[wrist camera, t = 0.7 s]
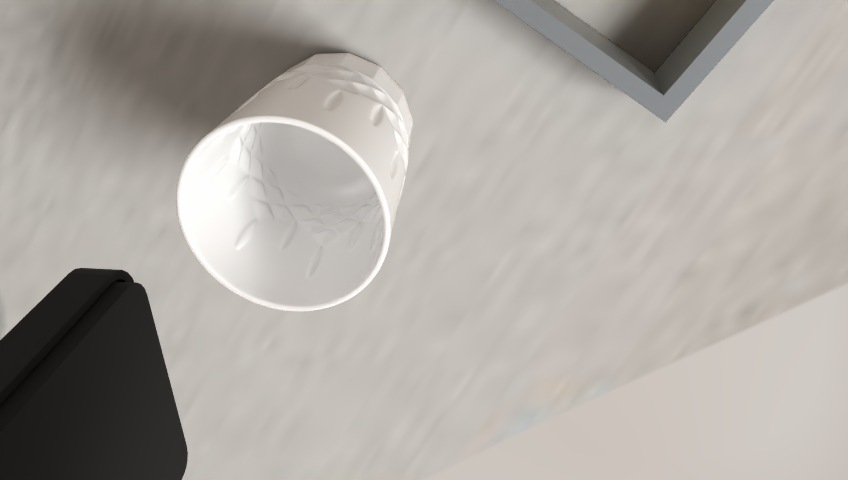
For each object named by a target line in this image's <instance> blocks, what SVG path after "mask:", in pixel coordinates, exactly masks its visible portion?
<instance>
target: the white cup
mask: <svg viewBox="0 0 848 480" xmlns="http://www.w3.org/2000/svg"><path fill="white" fill-rule="evenodd" d="M412 126H413V120H412V117H411V114H410V111H409V108H408V105H407V101H406V98H405V95H404V92H403V91H402V89H401V88H400V87H399V86H398V85H397V84H396V83H395V82H394V81H393V80H392V78H391V77H390V76H389V75H388V74H387V73H386V72H385V71H384V70H383V69H382V68H381V67H380V66H378V65H376V64H374V63H371V62H369V61H367V60H364V59H362V58H360V57H358V56H355V55H353V54H351V53H328V54H315V55H313V56H311V57H309V58H308V59H306V60H304V61H302V62H300V63H299V64H297V65H295V66H293V67H291V68H290V69H288V70H287V71H286V72H285V73H283V74H281V75H280V76H278V77H277V78H275V79H274V80H273V81H271V82H270V83H269V84H267V85H266V86H265V87H264V88H262V89H261V90H260V91H258V92H257V93H256V94H255V95H253V96H252V97H250V98H249V99H248V100H247V101H246V102H244V103H243V104H242V105H241V106H240V107H239V108H238V109H236V110H235V111H234V112H233V113H232V114H231V115H229V116H228V117H227V118H226V119H225V120H224V121H222V122H221V123H220V124H219V125H218V126H217V127H215V128H214V129H213V130H212V131H211V132H209V133H208V134H207V135H206V136H205V137H203V138H202V139H201V140H200V141H199V142H198V143H197V144H196V146H195V147H194V148H193V149H192V151H191V152H190V153H189V155H188V157H187V158H186V160H185V162H184V164H183V166H182V169H181V172H180V175H179V178H178V183H177V190H176V208H177V215H178V220H179V223H180V227H181V230H182V233H183V235H184V237H185V240H186V242H187V244H188V246H189V247H190V249H191V251H192V252H193V254H194V255H195V257H196V258H197V260H198V261H199V262H200V263H201V265H202V266H203V267H204V268H205V269H206V270H207V271H208V272H209V273H210V274H211V275H212V276H213V277H214V278H215V279H216V280H217V281H218V282H220V283H221V284H222V285H224V286H225V287H226V288H228V289H229V290H231V291H232V292H234V293H236V294H237V295H239V296H241V297H243V298H245V299H247V300H249V301H252V302H254V303H257V304H260V305H263V306H266V307H270V308H274V309H279V310H286V311H312V310H319V309H324V308H328V307H331V306H334V305H337V304H339V303H342V302H344V301H346V300H348V299H350V298H351V297H353V296H354V295H356V294H357V293H359V292H360V291H361V290H362V289H363V288H365V287H366V286H367V285H368V284H369V283H370V281H371V280H372V279H373V278H374V277H375V275H376V274H377V272H378V271H379V269H380V267H381V265H382V263H383V261H384V259H385V256H386V253H387V250H388V246H389V242H390V238H391V233H392V229H393V225H394V221H395V217H396V213H397V210H398V206H399V202H400V198H401V194H402V190H403V186H404V181H405V177H406V169H407V165H408V151H409V145H410V139H411V133H412Z"/></svg>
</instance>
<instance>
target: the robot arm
mask: <svg viewBox="0 0 848 480" xmlns="http://www.w3.org/2000/svg"><path fill="white" fill-rule="evenodd" d="M187 455H188V452H187V445H186V441H185V438H184V434H183V430H182V426H181V422H180V419H179V415H178V411H177V407H176V403H175V400H174V396H173V392H172V388H171V384H170V380H169V377H168V373H167V369H166V365H165V361H164V358H163V354H162V350H161V346H160V342H159V338H158V335H157V331H156V327H155V323H154V319H153V316H152V312H151V308H150V304H149V300H148V297H147V293H146V291H145V288H144V287H143V286H142V285H141V284H139V283H134V281H133V278H132V277H131V276H130V275H129V273H128V272H125V271H123V270H111V269H91V268H79V269H75V270H73V271H72V272H70V273H69V274H68V275H67V276H66V277H65V278H64V279H63V280H62V281H61V282H60V283H59V284H58V285H57V286H56V287H55V288H54V289H53V290H52V291H51V292H49V293H48V294H47V295H46V296H45V297H44V298H43V299H42V300H41V301H40V302H39V303H38V304H37V305H36V306H35V307H34V308H33V309H32V310H31V311H30V312H29V313H28V314H27V315H26V316H25V317H24V318H23V319H22V320H21V321H20V322H19V323H18V324H17V325H16V326H15V327H14V328H13V329H12V330H11V331H10V332H9V333H8V334H7V335H5V336H4V337H3V338H2V339H1V340H0V480H182V477H183V475H184V473H185V469H186V465H187Z"/></svg>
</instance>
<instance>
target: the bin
mask: <svg viewBox="0 0 848 480" xmlns="http://www.w3.org/2000/svg"><path fill="white" fill-rule="evenodd" d="M494 1H496V2H497V3H499V4H500V5H501V6H503V7H504V8H506V9H507V10H508V11H510V12H511V13H513V14H514V15H515V16H517V17H518V18H520V19H521V20H522V21H524V22H525V23H527V24H528V25H530V26H531V27H532V28H534V29H535V30H537V31H538V32H539V33H541V34H542V35H544V36H545V37H546V38H548V39H549V40H551V41H552V42H553V43H555V44H556V45H558V46H559V47H560V48H562V49H563V50H565V51H566V52H567V53H569V54H570V55H572V56H573V57H575V58H576V59H577V60H579V61H580V62H582V63H583V64H584V65H586V66H587V67H589V68H590V69H591V70H593V71H594V72H596V73H597V74H598V75H600V76H601V77H603V78H604V79H605V80H607V81H608V82H610V83H611V84H612V85H614V86H615V87H617V88H618V89H619V90H621V91H622V92H624V93H625V94H627V95H628V96H629V97H631V98H632V99H634V100H635V101H636V102H638V103H639V104H641V105H642V106H643V107H645V108H646V109H648V110H649V111H650V112H652V113H653V114H655V115H656V116H657V117H659V118H660V119H662V120H663V121H664V122H666V121H667V120H668V119H669V118H670V117H671V116H672V115H673V113H674V112H675V111H676V110H677V109H678V108H679V107H680V106H681V104H682V103H683V102H684V101H685V100H686V99H687V98H688V97H689V95H690V94H691V93H692V92H693V91H694V90H695V89H696V88H697V86H698V85H699V84H700V83H701V82H702V81H703V80H704V78H705V77H706V76H707V75H708V74H709V73H710V72H711V71H712V69H713V68H714V67H715V66H716V65H717V64H718V63H719V62H720V60H721V59H722V58H723V57H724V56H725V55H726V54H727V53H728V51H729V50H730V49H731V48H732V47H733V46H734V45H735V44H736V42H737V41H738V40H739V39H740V38H741V37H742V36H743V35H744V33H745V32H746V31H747V30H748V29H749V28H750V27H751V26H752V24H753V23H754V22H755V21H756V20H757V19H758V18H759V17H760V15H761V14H762V13H763V12H764V11H765V10H766V9H767V8H768V6H769V5H770V4H771V3H772V2H773V1H774V0H716V1H715V2H714V4H713V5H712V6H711V7H710V8H709V9H708V11H707V12H706V13H705V14H704V15H703V17H702V18H701V19H700V20H699V21H698V22H697V24H696V25H695V26H694V27H693V28H692V30H691V31H690V32H689V33H688V34H687V35H686V37H685V38H684V39H683V40H682V41H681V42H680V44H679V45H678V46H677V47H676V48H675V50H674V51H673V52H672V53H671V54H670V55H669V57H668V58H667V59H666V60H665V61H664V63H663V64H662V65H661V66H660V67H659V68H658V70H657V71H656V72H655V73H654V72H653V71H651V70H650V69H648V68H647V67H646V66H644V65H643V64H642V63H640V62H639V61H637V60H636V59H635V58H633V57H632V56H630V55H629V54H628V53H626V52H625V51H624V50H622V49H621V48H619V47H618V46H617V45H615V44H614V43H612V42H611V41H610V40H608V39H607V38H606V37H604V36H603V35H601V34H600V33H599V32H597V31H596V30H594V29H593V28H592V27H590V26H589V25H588V24H586V23H585V22H583V21H582V20H581V19H579V18H578V17H576V16H575V15H574V14H572V13H571V12H570V11H568V10H567V9H565V8H564V7H563V6H561V5H560V4H558V3H557V2H556V1H554V0H494Z"/></svg>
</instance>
